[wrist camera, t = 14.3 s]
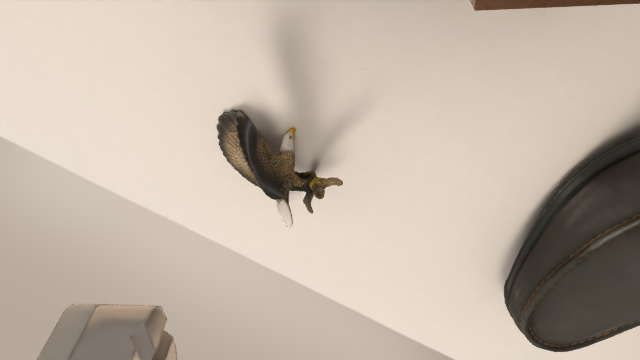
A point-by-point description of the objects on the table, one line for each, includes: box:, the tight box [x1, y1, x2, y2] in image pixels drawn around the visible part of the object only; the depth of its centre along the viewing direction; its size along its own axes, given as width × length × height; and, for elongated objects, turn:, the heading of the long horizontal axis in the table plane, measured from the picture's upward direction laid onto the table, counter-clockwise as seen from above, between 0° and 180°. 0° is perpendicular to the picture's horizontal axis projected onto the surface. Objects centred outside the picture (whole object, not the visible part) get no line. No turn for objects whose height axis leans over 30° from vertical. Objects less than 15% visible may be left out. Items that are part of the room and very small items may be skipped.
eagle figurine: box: [217, 111, 343, 228], centre depth 42 cm, size 8×7×9 cm
